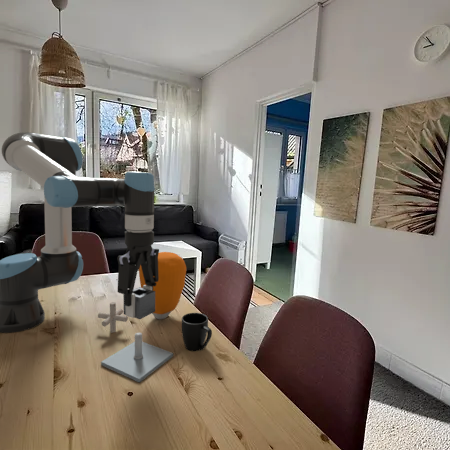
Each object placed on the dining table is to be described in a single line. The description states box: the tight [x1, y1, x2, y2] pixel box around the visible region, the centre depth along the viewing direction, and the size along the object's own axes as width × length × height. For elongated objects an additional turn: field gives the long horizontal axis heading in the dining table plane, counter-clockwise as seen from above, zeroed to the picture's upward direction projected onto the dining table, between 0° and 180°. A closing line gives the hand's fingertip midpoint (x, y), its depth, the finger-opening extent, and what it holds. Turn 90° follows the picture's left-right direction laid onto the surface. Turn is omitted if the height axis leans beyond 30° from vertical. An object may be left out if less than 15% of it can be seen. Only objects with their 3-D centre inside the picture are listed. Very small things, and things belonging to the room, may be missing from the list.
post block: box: [100, 332, 174, 383], centre depth 87 cm, size 14×14×8 cm
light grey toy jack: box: [97, 301, 129, 334], centre depth 102 cm, size 10×10×10 cm
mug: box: [181, 312, 213, 352], centre depth 94 cm, size 8×12×10 cm
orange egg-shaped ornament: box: [138, 251, 187, 320], centre depth 113 cm, size 17×17×25 cm
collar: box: [122, 286, 155, 320], centre depth 85 cm, size 6×6×6 cm
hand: (139, 311), depth 85 cm, fingers closed on collar, 6 cm apart
